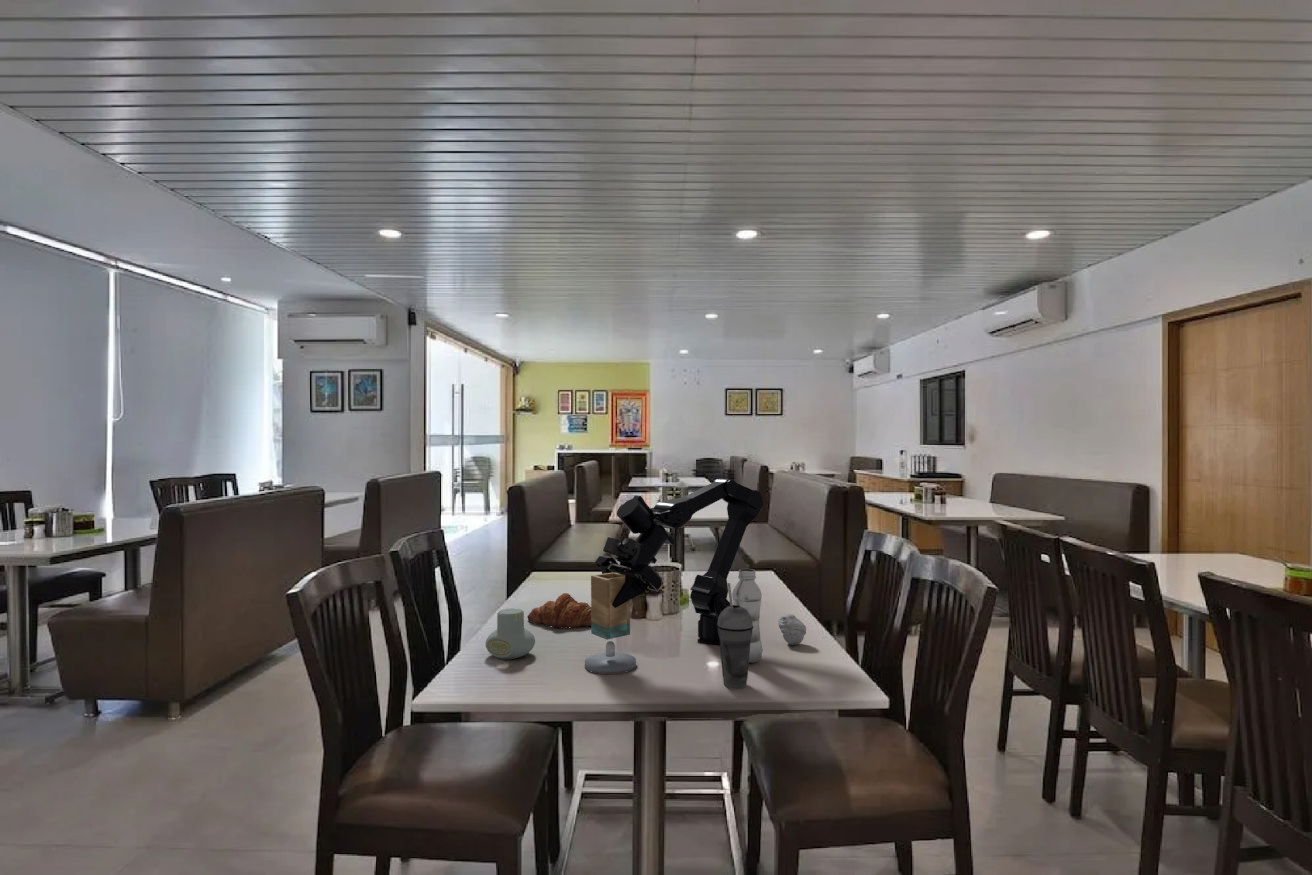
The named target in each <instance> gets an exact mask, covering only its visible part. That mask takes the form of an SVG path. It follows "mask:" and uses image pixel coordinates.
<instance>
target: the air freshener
mask: <svg viewBox="0 0 1312 875" xmlns="http://www.w3.org/2000/svg"><path fill="white" fill-rule="evenodd" d="M496 614H497V616H496V617H497V618H496V619H497V620H496V630H494V631H492V632H491V633H490V634H488V637H486V639H485V648H486V650H487V652H488V653H489V654H490V655H491V656H494V657H496V658H498V659H500V660H503V661H504V660H505V661H507V660H508V661H509V660H513V659H519V658H523V657H524V656H526V655H527V654H529V653H530V652H531V651H532V650H533V649H534V647H535V644H536V638H535V635H534V634H533V633H532V632H531V631H530V630H529V629H527V628H525V616H524V614H525V611H524V610H523V609H520V608H504V609H500V610H499V611H497V613H496Z"/></svg>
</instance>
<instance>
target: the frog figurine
mask: <svg viewBox="0 0 1312 875" xmlns="http://www.w3.org/2000/svg"><path fill="white" fill-rule="evenodd" d="M777 624H778V628H779V630H780V632H781V634H782V637H783V639H784V641H785V642H786V643H787V644H788V645H791V646H797V645H799V644H801V643H802V642H803V641H804V639H805V636H806V635H807V626H806V625H805V623H803V622H802V621H801V619H799V618H798V617H797V616H796V615H794V614H791V613H788V614H784V615H783V616H781V617H779V619H778V623H777Z"/></svg>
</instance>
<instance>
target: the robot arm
mask: <svg viewBox="0 0 1312 875" xmlns="http://www.w3.org/2000/svg"><path fill="white" fill-rule="evenodd" d="M720 500H723V501H724V502H725V503H727V506H726V511H727V517H728V519H727V522H726V525H725V527H724V529H723V532H722V535H721V537H720V539H719V542H718V545H717V547H716V550H715V552H714V555H713V557H712V559H711V562H710V564H709V567H708V568H707V571H706V572H705V573H704V574H696V576H695V578H694V581H693V583H692V584H693V585H692V587H690V589H689V590H690V592H691V593H690V597H689V598H690V599H691V600H690V601H691V603H692V605H693V608H694V612H695V614H700V615H699V619H698V621H697V637H698V639H697V640H696V641H697V643H703V644H709V645H710V644H711V645H719V646H720V638H719V635H718V628H717V623H718V617H719V615H720V613H721V612H722V611H723V610H724V609H725V608H726V607H728V606H730V600H728V599H727V598H728V596H729V591H728V580H727V579H728V576H729V574H730V571H731V568H732V566H733V563H734V561H735V558H736V556H737V554H738V550H739V548H740V545H741V543H742V539H743V537H744V535H745V533H746V531H747V530H746V529H747V527H748V525H750V524H751V523H752V522H753V521H754V520H756V519H757V517H758V516H759V514H760V513H761V510H762V508H763V506H764V499H763V496H762V493H761V492H760V491H758V490H757V489H756V490H755V489H751V488H749V487H747V486H744V485H742V484H740V483H738V482H737V481H735V480H733V479H729V478H717V479H715V480H714V481H713V482H711V483H709V484H707V485H705V486H703V487H701V488H699V489H697V490H695V491H693V492H691V493H689V494H687V495H685V496H683V497H679V498H672V499H667V500H663V501H659V502H657V503H656V504H655V505H654V507H650V506H649V505H648V504H647V503H646V501H645V499H644V498H643V497H642V495H634V496H633V497H632V498H631V499H628V500H627V501H625V502H624V503H622V504H621V505H620V506H619V507H618V509H617V511H616V516H617V517H618V519H619V520H620V521H621V522H622V523H623V524H624V525H625V527H626V528H628V530H629V531H630V532H631V533H632V534H639V535H638V536H637V537H636V539H633V538H630V537H625V538H624V539H623V540H622V539H618V538H614V537H610V536H609V537H607V538H606V540H605V544H604V546H603V549H602V551H603V552H605V553H610V554H611V555H613V557H612V556H608V555H599V556H598V557H597V559H595V561H594V565H596V566H597V567H598V569H600V571H601V574H605V573H612V572H615V573H619V574H623V575H625V583H624V585H623V586H622V588H621V590H620V591H619V593H618V594H617V596H616V598H615V599H614V601H613V603H612V606H613V607H614V608H617V607H618V606H620V605H622V604H624V603H625V602H627V601H629V600H630V601H631V600H633V599H634V598H637V597H638V596H641V595H643V594H645V593H649V592H650V591H652V592H657V593H659V590H660V589H661V588H662V586H663V578H662V577H661V576H660V575H659V573H657V571H656V570H655V569H654V568H653V567H652V566H651V565H650V564H654V565H655V564H656V563H657V561H658V559H657V558H656V556H657V555H658V553H659V552H660V550H661V549H662V547H663V546H664V545H671V546H673V545H675V538H674V532H669V531H668V530H667V529H666V528H671V529H680V528H682V527H683V526H684V525H685V524H687V523H688V522H689V521H690V520H691V519H692V518H693V515H695V514H696V513H697V512H699V511H701V510H703V509H704V508H707V507H709V506H710V505H712V504H713V505H714V503H716V502H718V501H720ZM665 527H666V528H665ZM614 556H615V557H614ZM618 562H619V563H618Z"/></svg>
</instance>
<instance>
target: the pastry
mask: <svg viewBox="0 0 1312 875" xmlns="http://www.w3.org/2000/svg"><path fill="white" fill-rule="evenodd" d="M527 619H528V620H527V621H528V622H529V621H531V623H533V624H534V623H535V624H534V625H539V624H544V625H543V626H546V625H547V626H546V627H548V626H552V627H551V628H553V627H554V628H553V629H562V628H561V627H567V628H566V629H570V628H569V627H578V628H582V627H581V626H591V605H589V603H588V602H578V601H577V600H575V598H574V597H572V595H571V594H569V593H567V592H565V593H564V592H563V593H561V594H560V595H559V596H558V597H557V598H556V599H555V601H553V600H548V601H547V602H545V603H544V604H542V605H541V606H539V607H534V608H532V609H531V611H529V613H528V615H527Z"/></svg>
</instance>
